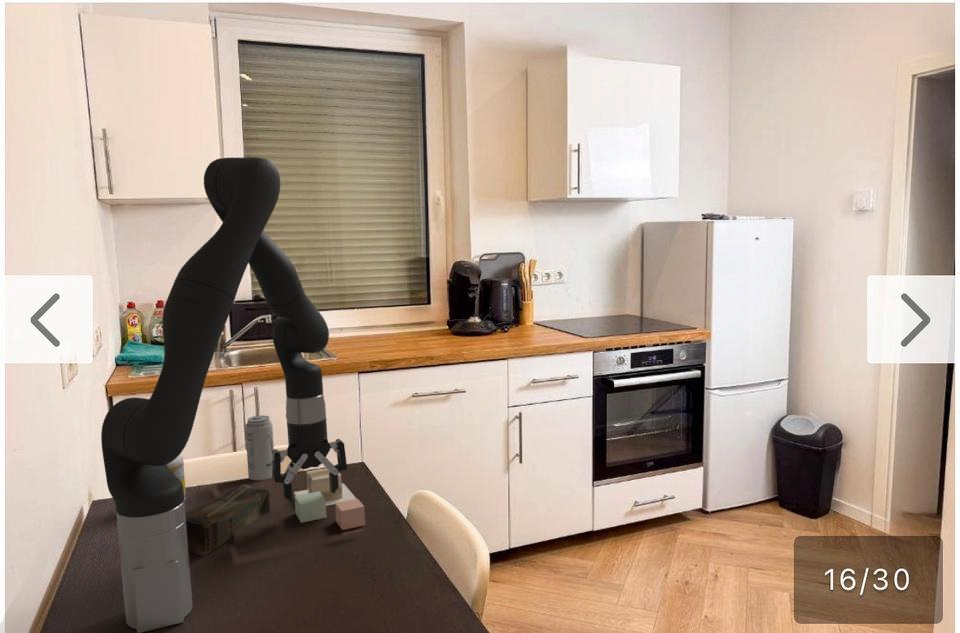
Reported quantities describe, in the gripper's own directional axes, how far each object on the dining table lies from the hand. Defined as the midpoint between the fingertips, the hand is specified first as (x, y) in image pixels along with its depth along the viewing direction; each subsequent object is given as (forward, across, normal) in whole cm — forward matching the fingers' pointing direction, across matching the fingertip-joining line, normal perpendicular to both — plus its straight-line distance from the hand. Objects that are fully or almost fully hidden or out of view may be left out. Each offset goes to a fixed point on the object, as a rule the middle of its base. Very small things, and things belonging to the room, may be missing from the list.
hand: (311, 495), depth 137 cm
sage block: (+5, 0, 0) cm, 5 cm away
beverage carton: (+5, -17, +3) cm, 18 cm away
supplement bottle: (+5, -26, +25) cm, 36 cm away
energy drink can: (+6, -6, +29) cm, 30 cm away
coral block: (+5, +6, -8) cm, 11 cm away
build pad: (+5, +4, +9) cm, 11 cm away
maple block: (+4, +4, +9) cm, 11 cm away
